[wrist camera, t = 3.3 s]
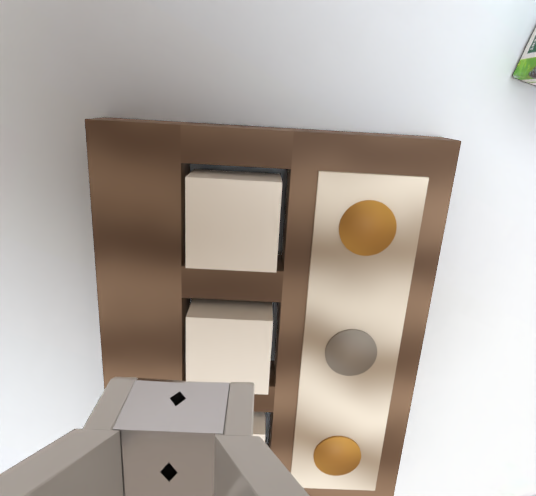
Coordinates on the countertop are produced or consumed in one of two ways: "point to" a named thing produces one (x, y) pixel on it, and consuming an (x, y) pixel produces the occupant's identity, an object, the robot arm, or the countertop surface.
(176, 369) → the button board
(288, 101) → the countertop surface
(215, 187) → the button
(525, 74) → the syrup box
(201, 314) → the button middle
